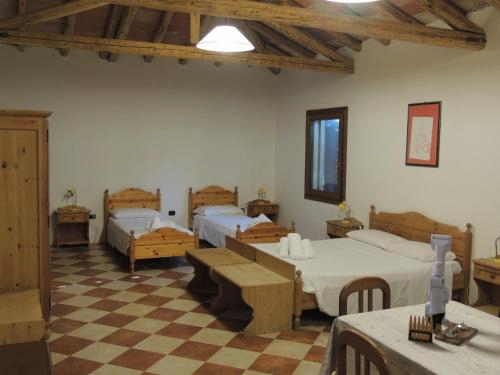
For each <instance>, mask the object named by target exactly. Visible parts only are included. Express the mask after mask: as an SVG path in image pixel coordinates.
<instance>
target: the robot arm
mask: <svg viewBox="0 0 500 375" xmlns="http://www.w3.org/2000/svg"><path fill="white" fill-rule="evenodd" d="M452 238H453V236H452V234H451V235H450V234H449V235H447V234H434V233H432V234H431V235H430V247H431V250H432V251H433V252H434V253H435V262H433V263H432V268H431V276H430V278H429V287H428V293H427V300H428V301H427V302H425V306H424V320H425V321H426V318H427V316H428V320H429V325H430V318H431V317H432V320H433V330H435V328H436V323H437V324H441V325H442V324H445V323H446V322H447V321H448V320H449V318H446V314H447V312H446V308H447V307H446V306H447V304H449V301H450V300H449V299H450V289H449V287H447V285H446V284H445V283H446V279H445V278H446V276H445V271H446V255H447V253H449V252H451V250H452V240H453V239H452Z"/></svg>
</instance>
